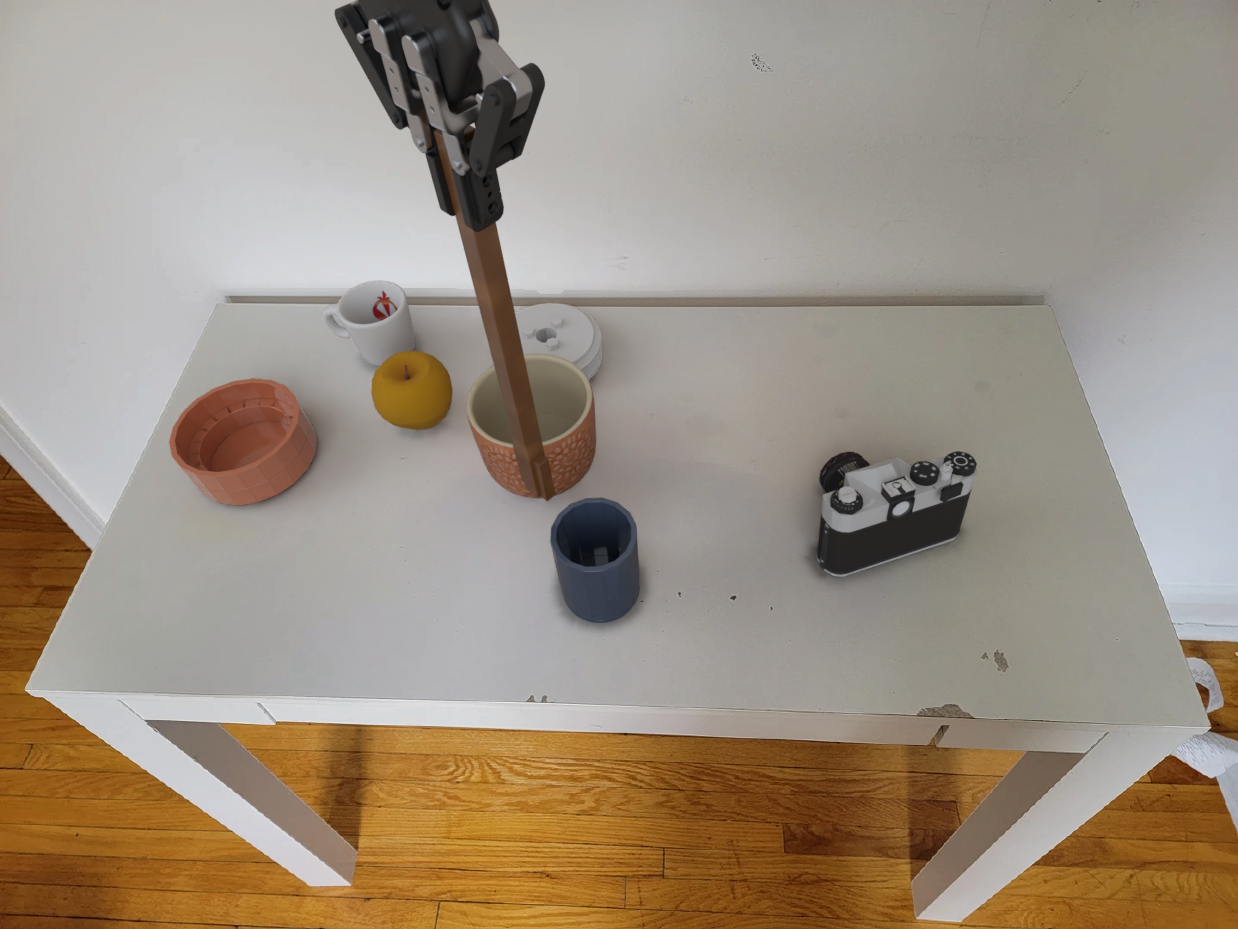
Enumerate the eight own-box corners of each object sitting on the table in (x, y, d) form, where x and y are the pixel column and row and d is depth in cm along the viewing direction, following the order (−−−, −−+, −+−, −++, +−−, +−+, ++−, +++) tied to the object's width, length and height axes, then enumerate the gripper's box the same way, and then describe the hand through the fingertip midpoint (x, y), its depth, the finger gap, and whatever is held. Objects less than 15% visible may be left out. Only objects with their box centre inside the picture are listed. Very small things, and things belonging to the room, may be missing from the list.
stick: (544, 504, 64) (462, 146, 38) (519, 483, 65) (422, 124, 39) (558, 492, 64) (486, 133, 39) (533, 471, 66) (447, 112, 40)
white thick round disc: (483, 345, 94) (475, 314, 90) (578, 312, 97) (574, 281, 93) (519, 415, 87) (512, 385, 83) (620, 378, 90) (618, 347, 86)
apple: (396, 459, 84) (371, 406, 77) (378, 407, 89) (353, 352, 82) (470, 432, 86) (453, 378, 79) (448, 382, 91) (430, 327, 84)
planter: (462, 480, 82) (438, 413, 73) (533, 405, 88) (519, 335, 79) (554, 533, 77) (540, 469, 69) (623, 451, 83) (618, 382, 75)
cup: (326, 370, 93) (301, 321, 86) (351, 325, 97) (328, 275, 91) (411, 378, 91) (392, 329, 85) (431, 332, 96) (415, 281, 90)
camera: (908, 472, 81) (923, 398, 75) (972, 543, 74) (996, 468, 67) (782, 512, 79) (786, 439, 72) (834, 589, 71) (844, 516, 65)
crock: (600, 638, 70) (592, 588, 62) (546, 589, 74) (532, 534, 66) (655, 586, 73) (654, 531, 65) (601, 540, 77) (594, 483, 69)
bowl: (234, 531, 79) (206, 498, 75) (176, 461, 85) (147, 427, 81) (342, 456, 85) (322, 421, 80) (280, 396, 91) (259, 360, 86)
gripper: (203, -180, 31) (348, 199, 45) (408, -108, 25) (502, 304, 38) (359, -225, 34) (449, 143, 48) (576, -171, 28) (607, 232, 41)
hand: (473, 214), depth 43 cm, fingers closed on stick, 1 cm apart
